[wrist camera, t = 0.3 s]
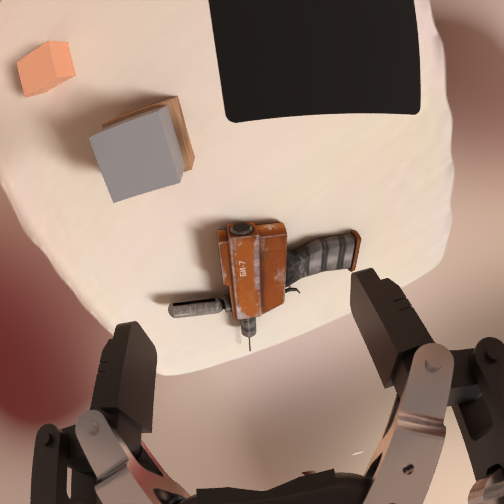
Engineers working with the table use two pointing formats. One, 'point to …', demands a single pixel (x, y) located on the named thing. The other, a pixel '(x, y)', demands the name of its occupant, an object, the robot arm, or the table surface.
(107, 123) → the walnut base block
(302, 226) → the table surface
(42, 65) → the terracotta block
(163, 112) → the gray middle block
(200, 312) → the tool
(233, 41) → the tablet
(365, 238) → the table surface
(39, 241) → the table surface
